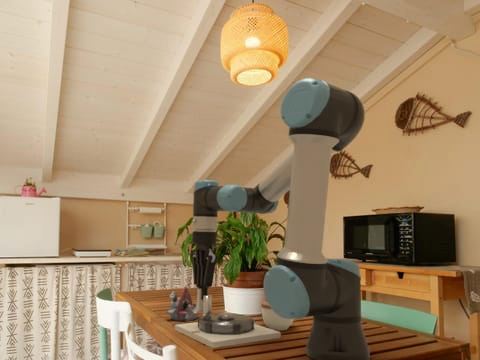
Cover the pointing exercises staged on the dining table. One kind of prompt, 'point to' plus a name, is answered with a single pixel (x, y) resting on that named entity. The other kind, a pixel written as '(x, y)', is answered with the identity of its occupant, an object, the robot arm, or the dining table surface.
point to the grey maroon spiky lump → (183, 307)
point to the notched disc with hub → (223, 320)
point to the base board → (227, 335)
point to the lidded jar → (274, 318)
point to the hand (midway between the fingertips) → (201, 310)
